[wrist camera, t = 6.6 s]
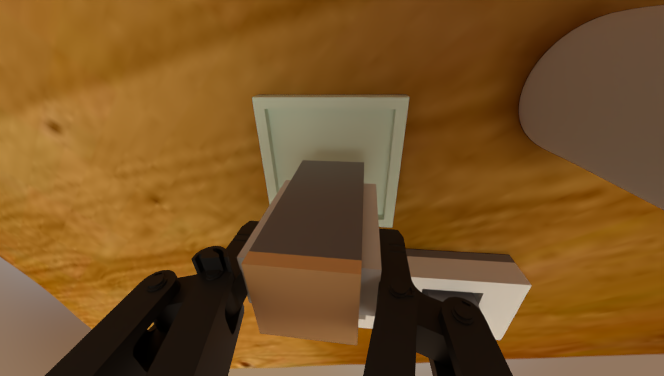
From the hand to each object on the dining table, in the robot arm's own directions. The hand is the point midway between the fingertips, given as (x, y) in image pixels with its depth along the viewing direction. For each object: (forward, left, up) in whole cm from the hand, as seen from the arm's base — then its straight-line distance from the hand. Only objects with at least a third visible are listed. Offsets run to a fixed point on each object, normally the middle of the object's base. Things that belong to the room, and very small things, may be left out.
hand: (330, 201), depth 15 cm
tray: (0, -1, -6) cm, 6 cm away
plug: (0, 0, -2) cm, 2 cm away
